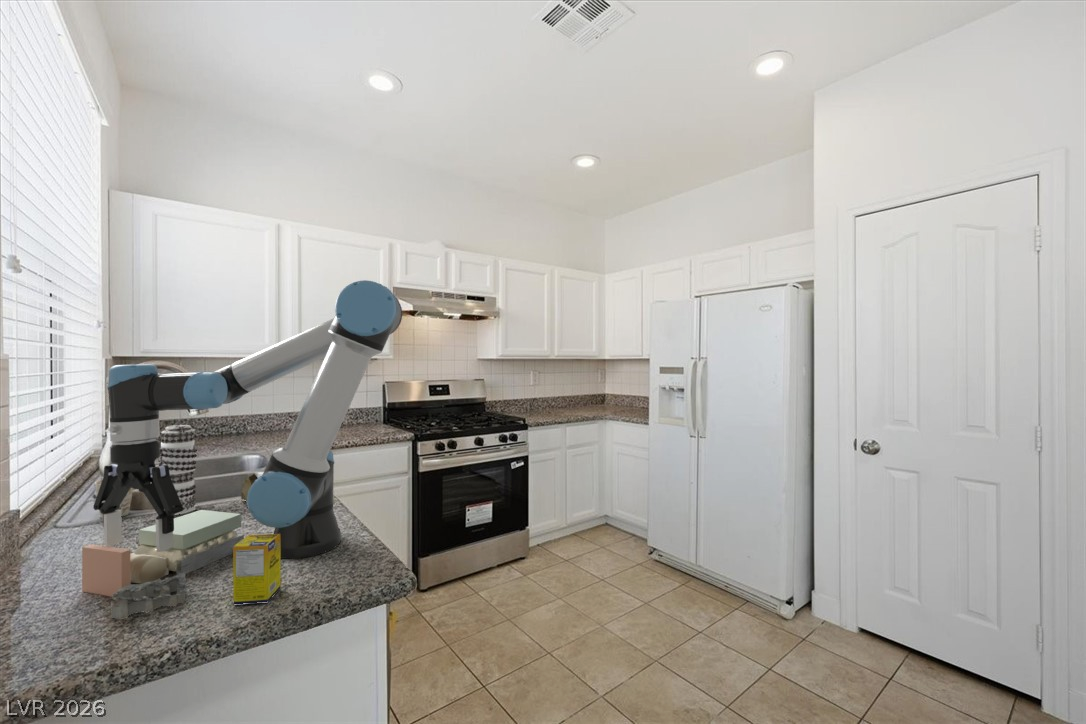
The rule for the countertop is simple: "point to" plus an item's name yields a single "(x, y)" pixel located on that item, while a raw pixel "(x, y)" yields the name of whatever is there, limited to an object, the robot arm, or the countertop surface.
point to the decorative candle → (180, 462)
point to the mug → (124, 505)
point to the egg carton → (138, 596)
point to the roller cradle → (158, 557)
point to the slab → (194, 528)
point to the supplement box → (256, 568)
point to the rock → (247, 486)
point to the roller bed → (195, 552)
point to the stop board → (105, 569)
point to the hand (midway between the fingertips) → (138, 546)
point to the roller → (146, 568)
